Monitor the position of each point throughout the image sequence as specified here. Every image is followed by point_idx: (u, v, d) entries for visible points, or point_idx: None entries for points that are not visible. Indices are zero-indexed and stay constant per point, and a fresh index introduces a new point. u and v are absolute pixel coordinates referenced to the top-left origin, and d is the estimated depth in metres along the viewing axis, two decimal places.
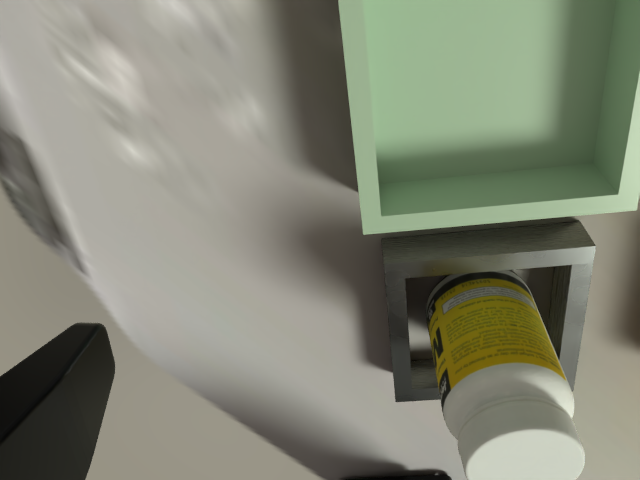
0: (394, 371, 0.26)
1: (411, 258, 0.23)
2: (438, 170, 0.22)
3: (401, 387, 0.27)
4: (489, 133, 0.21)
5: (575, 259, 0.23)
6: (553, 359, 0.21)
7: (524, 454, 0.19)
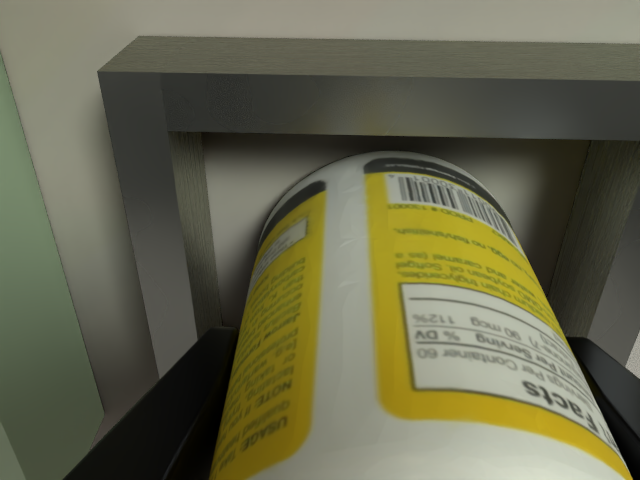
0: None
1: None
2: None
3: None
4: None
5: (148, 123, 0.08)
6: (271, 403, 0.06)
7: None
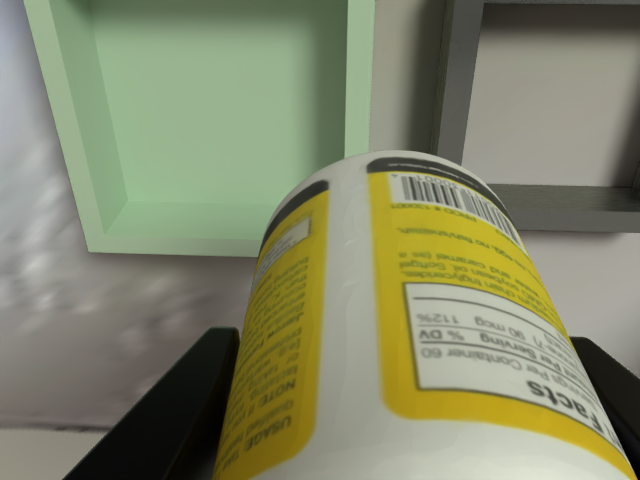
0: (608, 230, 0.20)
1: None
2: (335, 147, 0.20)
3: None
4: (297, 94, 0.19)
5: None
6: (274, 403, 0.06)
7: None
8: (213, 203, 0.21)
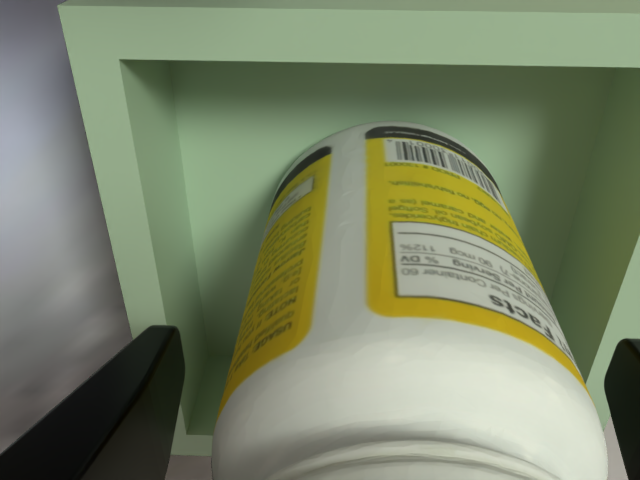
0: None
1: None
2: None
3: None
4: None
5: None
6: (279, 315, 0.07)
7: None
8: None
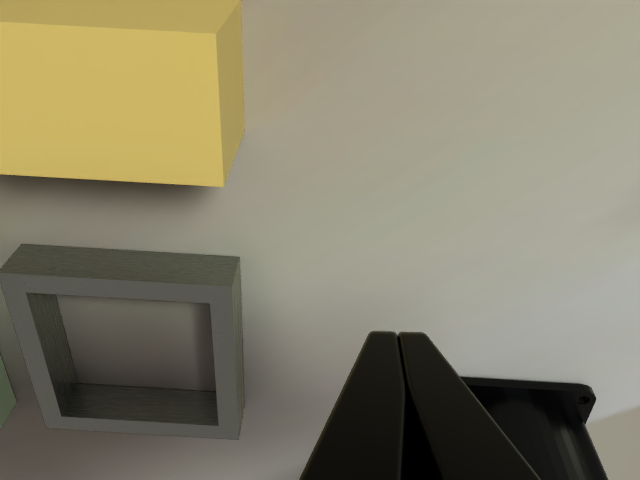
0: (189, 436, 0.24)
1: None
2: None
3: (215, 433, 0.24)
4: None
5: (18, 289, 0.20)
6: None
7: None
8: None
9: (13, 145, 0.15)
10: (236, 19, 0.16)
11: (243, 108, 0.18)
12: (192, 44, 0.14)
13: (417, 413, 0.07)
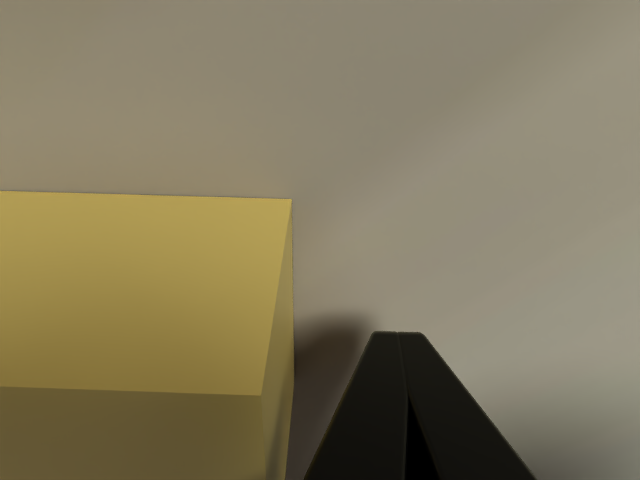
0: None
1: None
2: None
3: None
4: None
5: None
6: None
7: None
8: None
9: None
10: (287, 255, 0.08)
11: (292, 359, 0.11)
12: (206, 413, 0.06)
13: (414, 413, 0.07)
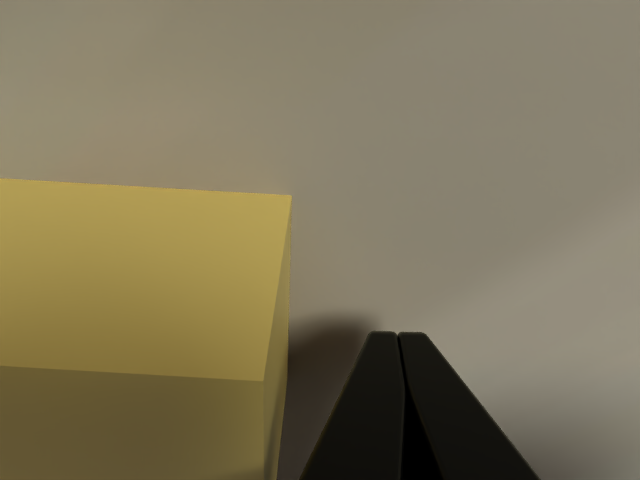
0: None
1: None
2: None
3: None
4: None
5: None
6: None
7: None
8: None
9: None
10: (287, 246, 0.08)
11: (287, 351, 0.11)
12: (207, 397, 0.06)
13: (417, 413, 0.07)
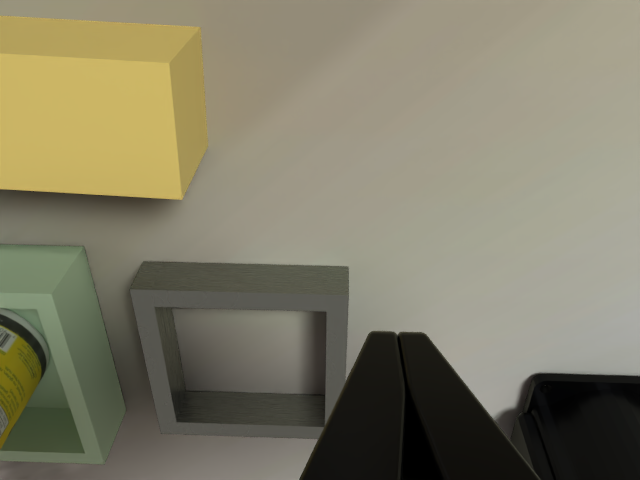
0: (296, 437, 0.26)
1: None
2: None
3: None
4: (47, 341, 0.25)
5: (147, 304, 0.22)
6: None
7: None
8: None
9: None
10: (195, 45, 0.18)
11: (206, 125, 0.20)
12: (147, 72, 0.15)
13: (417, 413, 0.07)
